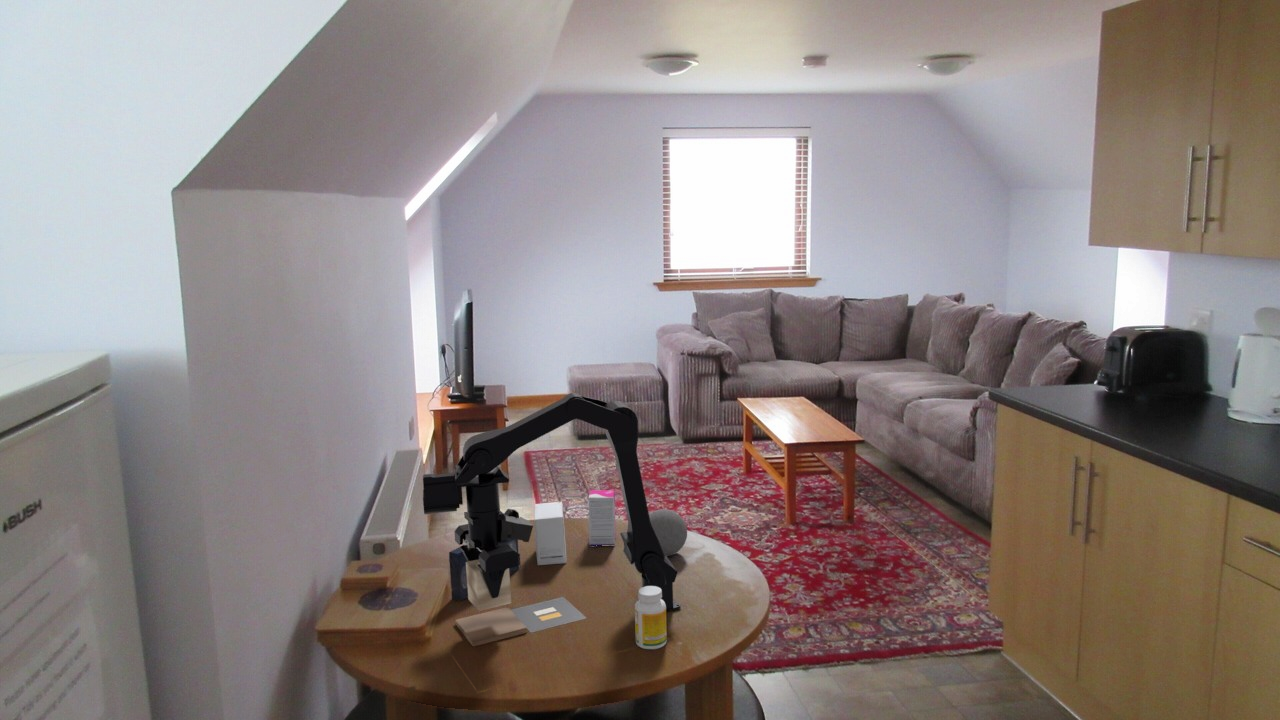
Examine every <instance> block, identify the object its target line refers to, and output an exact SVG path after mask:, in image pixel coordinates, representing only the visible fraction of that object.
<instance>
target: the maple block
mask: <svg viewBox="0 0 1280 720" xmlns="http://www.w3.org/2000/svg"><path fill="white" fill-rule="evenodd" d="M478 564H480V562H479V559H478V560H473V561H469V562H466V573H467V587H468V601H469V602H470V603H471V604H472V605H473V606H474V607H475V608H476V609H477V611H478V612H481V611H485V610H489V609H493V608H497V607H503V606H505V605H509V604H512V594H511V578H510V577H511V576H510V575H511V574H510V575H509V568H508V569H506V570H505V572H504V576H503V579H502V583H501V587H500V591H499V596H498V597H497V598H492V597H491V595H490V593H489V591H488V588H487V586H486V584H485V582H484V580H483V577H482V575H481V573H480V571H479V569H478V566H477V565H478Z"/></svg>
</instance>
